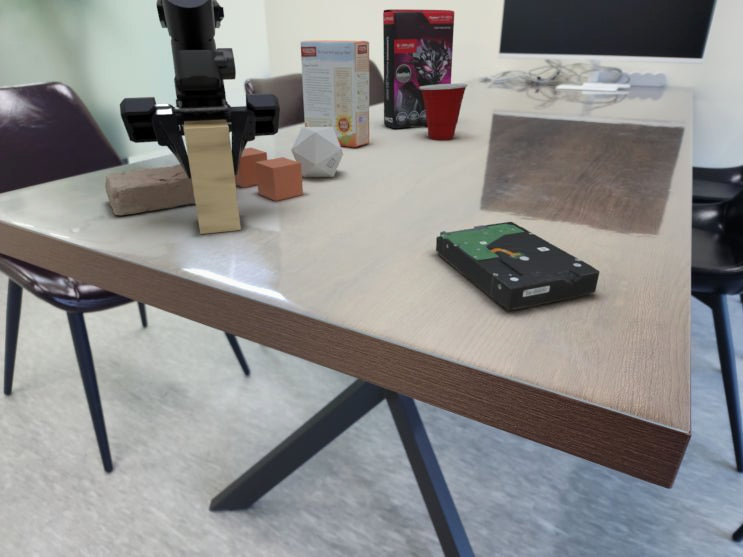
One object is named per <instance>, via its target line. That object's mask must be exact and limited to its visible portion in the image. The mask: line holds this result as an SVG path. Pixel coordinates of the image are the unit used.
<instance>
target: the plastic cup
mask: <svg viewBox="0 0 743 557" xmlns="http://www.w3.org/2000/svg"><path fill="white" fill-rule="evenodd" d="M467 87H468V83H451V84H438V85H427V86H421V87H420V89H421V91H422V94H423V98H424V103H425V112H426V120H427V125H426V126H427V134H428V138H429V139H431V140H438V141H448V140H452V139H454V136H455V133H456V128H457V124H458V121H459V117H460V112H461V108H462V104H463V99H464V95H465V91H466V89H467Z"/></svg>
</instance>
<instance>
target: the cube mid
mask: <svg viewBox="0 0 743 557" xmlns="http://www.w3.org/2000/svg"><path fill="white" fill-rule="evenodd" d="M255 164H256V174H257V184H258V185H257V193H258V195H260V196H262V197H264V198H267V199H270V200H272V201H275V202H278V201H282V200H286V199H290V198H295V197H298V196H299V197H300V196H303V195H304V188H303V176H302V170H301V163H300V162H297V161H296V160H294V159H290V158H288V157H287V158H286V157H283V156H281V157H276V158H271V159H267V160H264V161H259V162H255Z"/></svg>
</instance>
